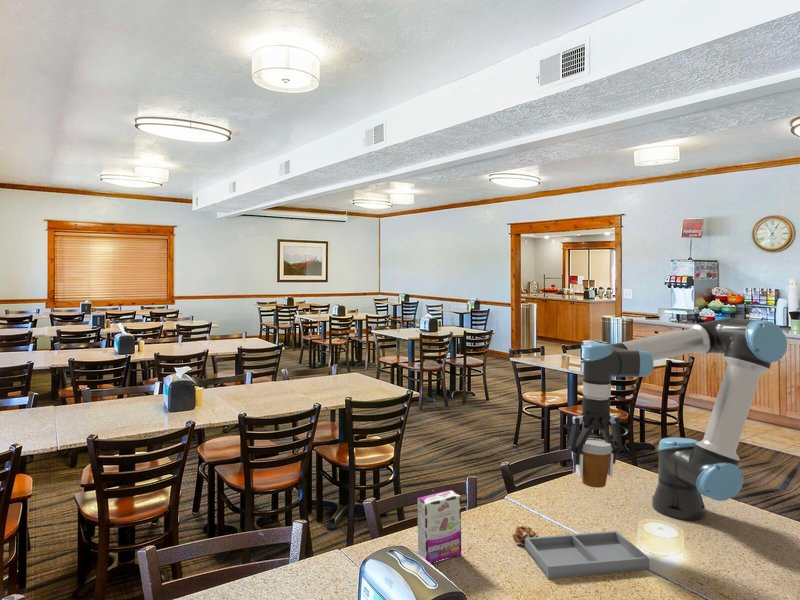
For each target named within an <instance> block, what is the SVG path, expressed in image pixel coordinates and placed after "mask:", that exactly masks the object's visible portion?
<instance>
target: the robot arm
mask: <svg viewBox="0 0 800 600" xmlns="http://www.w3.org/2000/svg"><path fill="white" fill-rule="evenodd" d="M787 349H788V341H787V337H786V334H785V333H784V330H783V329H782V328H781V327H780V326H779V325H778V324H776V323H774V322H772V321H768V320H764V319H763V320H762V319H749V318H737V317H726V318H719V319H715V320H711V321H705V322H702V323H697V324H692V325H691V326H690V327H689V328H688V329H683V330H676V331H673V332H668V333H663V334H657V335H653V336H648V337H642V338H638V339H632V340H627V341H623V342H618V343H617V342H616V343H612V344H609V343H605V342H604V343H603V342H589V343H586V344H585V345H584V349H583V358H582V360H583V371H582V372H583V373H582V374H583V376H582V378H583V379H582V380H583V381H582V395H583V397H582V403H581V404H582V407H581V409H582V413H581V415H579V416H576V415H572V416H571V427H570V431H569V438H568V441H567V447H566V449H567V450H568V451H570V452H571V453H573V455H572V456H573V458H572V459H573V460H572V461H573V464H575V475H577V476H578V477H579V478H582V477H583V454H582V453H581V451H582V449H583V445H584V444H585V442H586V440H587V438H589V436H590V434H591V433H592V432H593V431H595V430H597V431H598V430H599V431H600V433H601V435H602V437H603V440H605V441H606V442H607V443H610V444H611V447H612V448H613V450H612V452H611V455H610V461H609V467H608V473H607V476H609V477H613V475H614V472H613V471H614V464H616V459H617V456H616V455H618V454H619V452H621V451H623V442H622V435H621V430H620V429H621V428H620V423H621V418H620V417H619V416H616V415H615V414H613V415H611V414H610V411H611V399H610V398H611V397H612V394H611V392H612V391H611V390H612V377H613V378H616V377H621V378H622V377H623V378H624V377H625V378H627V377H628V378H629V377H631V378H640V377H641V378H642V377H648V376H650V375H651V374H652V373H653V370H654V361H658V360H663V359H669V358H673V357H677V356H678V357H679V356H684V355H688V354H692V353H696V354H697V353H698V354H701V355H704V354H706V355H707V354H713V353H714V354H723V359H724V362H726V368H725V371H724V374H723V377H722V380H721V383H720V386H719V390H718V393H717V395H716V399H715V401H714V405H713V408H712V411H711V413H710V417H709V420H708V424H707V426H706V430H705V433H704V436H703V439H702V440H700V441H699V440H697V439H692V438H687V437H664V438H662V439H660V440H659V443H658V449H657V451H658V476H657V477H658V479H657V480H658V483H657V485H656V488H655V491H654V494H653V495H652V497H651V506H652V508H653V509H654V510H655V511H657V512H658V513H661V514H662V515H664V516H667V517H671V518H675V519H678V520H687V521H695V520H696V521H697V520H701V519H703V518H705V516H706V506H705V503H704V500H703V497H707V498H709V499H711V500H713V501H719V502H721V501H728V500H729V499H730V498H734V497H735V496H737V494H739V492H740V491H741V489H742V488H743V484H744V476H743V472H742V471H741V469H740V468H739V464H740V457H739V456H738V453H737V449H738V446H739V443H740V440H741V436H742V433H743V432H744V431H743V430H744V427H745V424H746V422H747V419H748V415H749V412H750V409H751V406H752V403H753V399H754V396H755V393H756V390H757V387H758V384H759V381H760V380H761V379H760V378H761V375H762V374H764V373H765V372H768V371H770V368H771V365H772V363H776V362H778V361H779V360H781V359H782V358H783V357H784V356H785V355H786V352H787ZM582 422H583V424H582ZM609 422H610V428H611V429H609V427H608V424H609ZM581 424H582V427H581ZM580 429H581V431H580ZM610 430H611V433H610ZM579 433H580V434H579ZM611 435H612V436H611ZM702 496H703V497H702Z"/></svg>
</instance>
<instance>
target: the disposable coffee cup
mask: <svg viewBox="0 0 800 600" xmlns="http://www.w3.org/2000/svg"><path fill="white" fill-rule="evenodd" d="M612 450H613V448H612V447H611V444H610V443H607V442H606V441H605V440H604V439H600V438H593V437H588V438H587V440H586V442H585V444H584V445H583V449H582V451H581V453H582V454H583V477H581V480H582V484H583V485H585V486H588V487H591V488H598V489H600V488H604V487H606V485H607V478H608V474H607V473H608V467H609V461H610V455H611V452H612Z"/></svg>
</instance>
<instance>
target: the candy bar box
mask: <svg viewBox="0 0 800 600" xmlns="http://www.w3.org/2000/svg"><path fill="white" fill-rule="evenodd" d="M461 497H462V496H461V495H460V494H458V493H457V492H456V491H454V490H451V489H449V490H445V491H441V492H437V493H432V494H428V495H425V496H420V497H417V502H416V503H417V541H418V542H417V551H418V552H417V553H418V554H420V555H421V556H423V557H424V558H425V559H426V560H427V561H428V562H430V563H432V564H431V565H433V563H434V562H436V561H439V560H442V559H446V558H450V557H453V558H456V557H455V556H457V557H459V556H458V555H460V556H462V504H461V501H462V499H461ZM418 554H417V555H418ZM450 559H451V558H450ZM434 564H435V563H434Z"/></svg>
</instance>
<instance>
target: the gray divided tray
mask: <svg viewBox="0 0 800 600" xmlns="http://www.w3.org/2000/svg"><path fill="white" fill-rule="evenodd" d="M524 549H525V551H526V552H527V554H528V555H529V556H530V557H531V559H532V560H533V561H534V563H535V564H536V565H537V566H538V568H539V570H541V572H542V573H543V574H544V576H545V577H546V578H547V579H560V578H570V577H571V578H573V577H583V576H584V577H585V576H591V575H604V574H614V573H625V572H637V571H646V570H649V569H650V557H649V556H648V555H646V554H645V553H644V552H643V551H642V550H640V548H638V547H637V546H636V545H634V543H632V542H631V541H629V539H627V538H626V537H625V536H623V535H622V534H621V533H620V532H619V531H617V530H610V531H608V530H607V531H599V532H598V531H597V532H586V533H585V532H584V533H583V532H582V533H572V534H560V535H559V534H558V535H546V536H545V535H544V536H538V537H532V538H525V545H524Z"/></svg>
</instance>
